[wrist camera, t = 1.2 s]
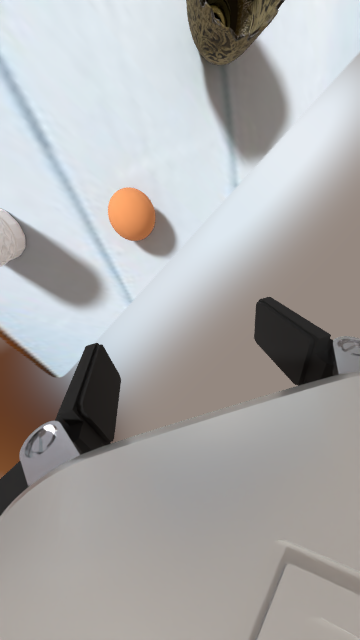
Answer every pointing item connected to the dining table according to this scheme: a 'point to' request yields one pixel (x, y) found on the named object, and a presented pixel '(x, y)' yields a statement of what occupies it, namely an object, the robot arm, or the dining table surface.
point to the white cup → (10, 238)
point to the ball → (131, 214)
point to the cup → (228, 26)
